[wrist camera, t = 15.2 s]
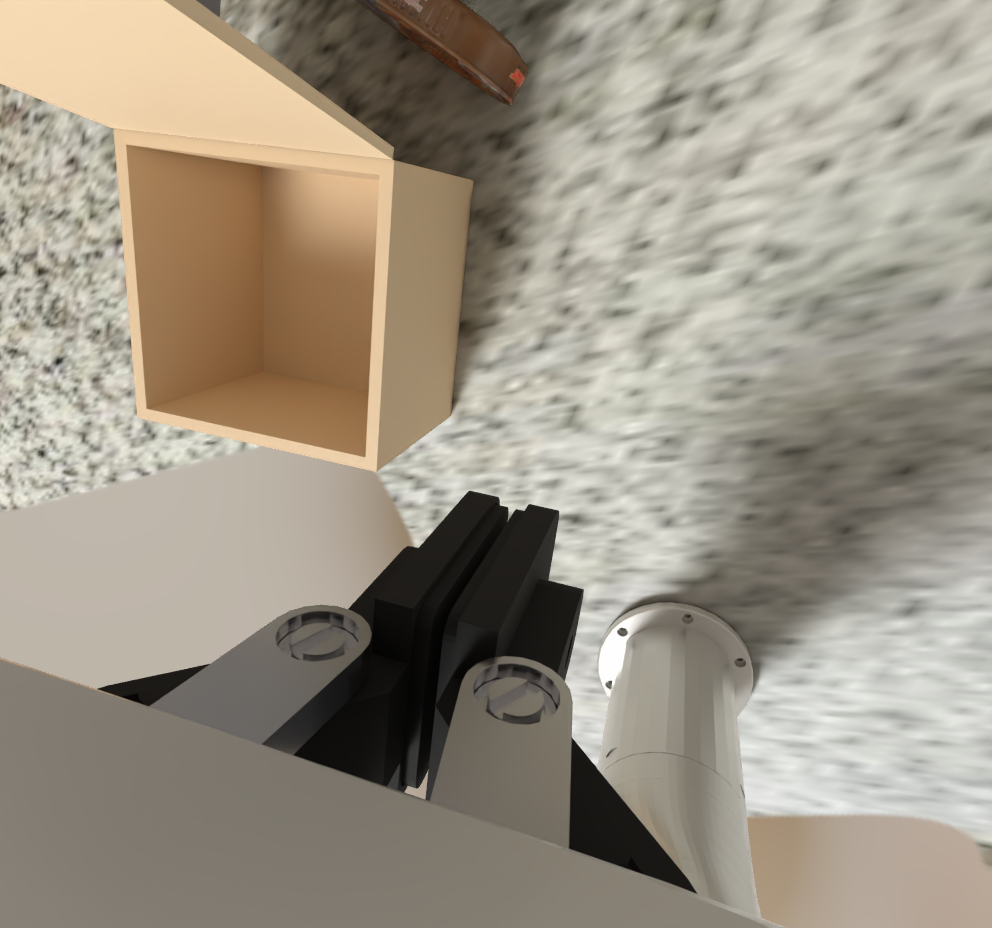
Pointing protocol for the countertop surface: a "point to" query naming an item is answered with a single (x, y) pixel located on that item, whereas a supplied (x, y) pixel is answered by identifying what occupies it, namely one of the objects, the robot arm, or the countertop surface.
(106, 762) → the robot arm
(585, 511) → the countertop surface
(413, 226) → the carton
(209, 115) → the lid
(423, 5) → the tin
